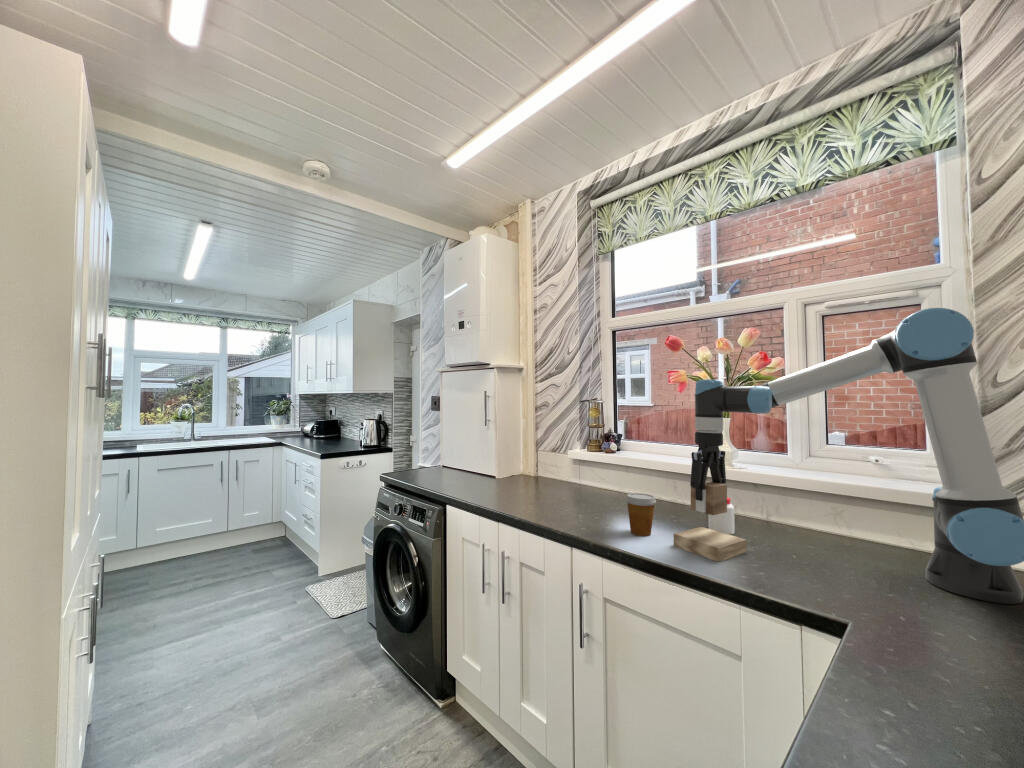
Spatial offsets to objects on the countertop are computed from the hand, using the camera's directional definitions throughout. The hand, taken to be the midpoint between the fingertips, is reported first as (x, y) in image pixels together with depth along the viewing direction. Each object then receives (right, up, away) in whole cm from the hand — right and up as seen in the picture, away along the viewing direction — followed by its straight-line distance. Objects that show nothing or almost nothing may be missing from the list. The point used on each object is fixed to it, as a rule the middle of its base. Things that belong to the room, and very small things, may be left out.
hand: (708, 509), depth 120 cm
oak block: (0, -12, -1) cm, 12 cm away
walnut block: (0, 0, 0) cm, 0 cm away
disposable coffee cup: (-16, -12, +13) cm, 24 cm away
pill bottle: (+12, -12, +17) cm, 24 cm away
